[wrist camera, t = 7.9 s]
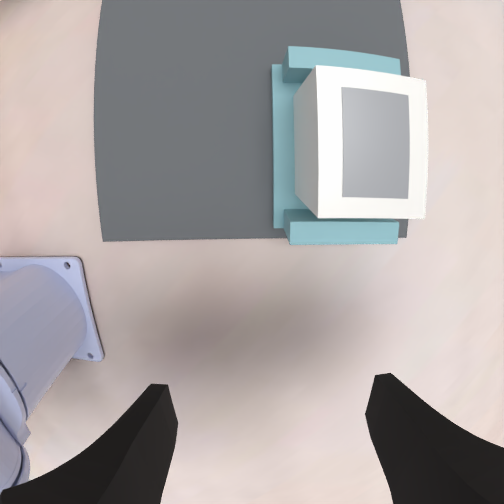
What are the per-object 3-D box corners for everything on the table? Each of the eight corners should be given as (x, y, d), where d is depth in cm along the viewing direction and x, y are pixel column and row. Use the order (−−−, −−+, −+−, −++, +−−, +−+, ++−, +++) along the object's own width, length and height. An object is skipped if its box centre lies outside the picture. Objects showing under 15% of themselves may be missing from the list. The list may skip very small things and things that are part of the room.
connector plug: (294, 193, 16) (318, 218, 10) (293, 96, 14) (316, 64, 8) (369, 194, 16) (425, 219, 10) (369, 101, 14) (426, 80, 8)
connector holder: (273, 224, 17) (278, 244, 13) (271, 68, 14) (276, 45, 11) (377, 224, 17) (406, 243, 13) (379, 76, 14) (409, 61, 11)
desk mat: (106, 239, 18) (102, 241, 17) (110, -26, 12) (107, -29, 12) (402, 235, 18) (406, 237, 17) (390, -31, 12) (392, -34, 12)
